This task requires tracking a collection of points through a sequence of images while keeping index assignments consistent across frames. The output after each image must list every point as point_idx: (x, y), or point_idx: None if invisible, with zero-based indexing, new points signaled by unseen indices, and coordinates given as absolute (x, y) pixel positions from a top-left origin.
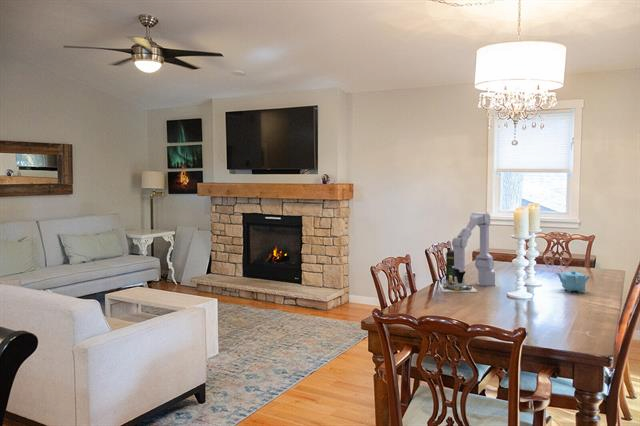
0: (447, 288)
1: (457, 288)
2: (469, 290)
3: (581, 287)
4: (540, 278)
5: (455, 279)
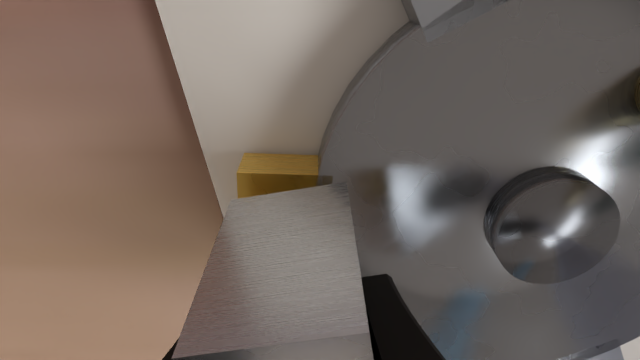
0: None
1: None
2: None
3: None
4: None
5: (193, 314)
